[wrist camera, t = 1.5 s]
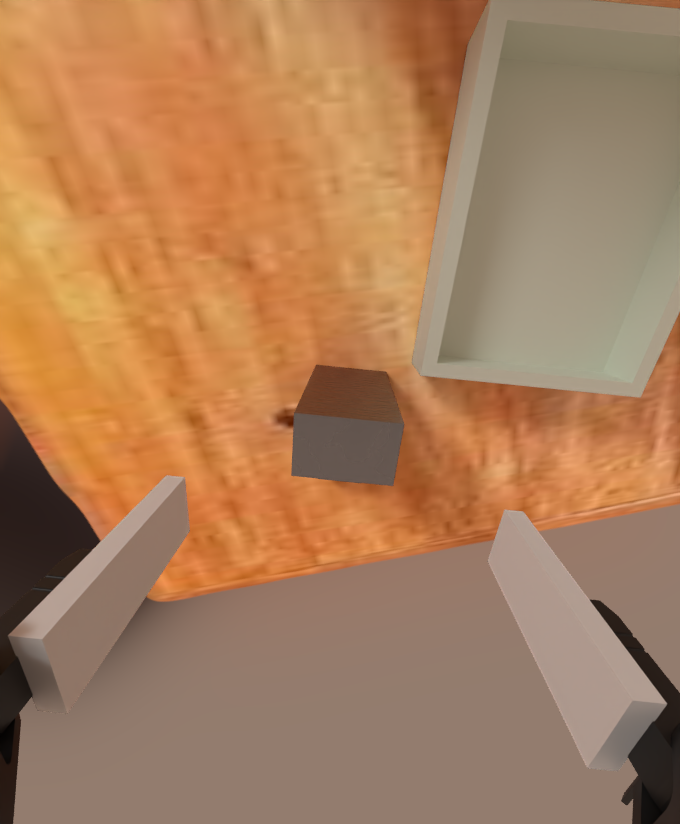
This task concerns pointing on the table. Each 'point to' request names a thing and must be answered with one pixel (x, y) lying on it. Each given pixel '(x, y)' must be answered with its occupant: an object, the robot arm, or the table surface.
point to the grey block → (347, 427)
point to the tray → (559, 201)
